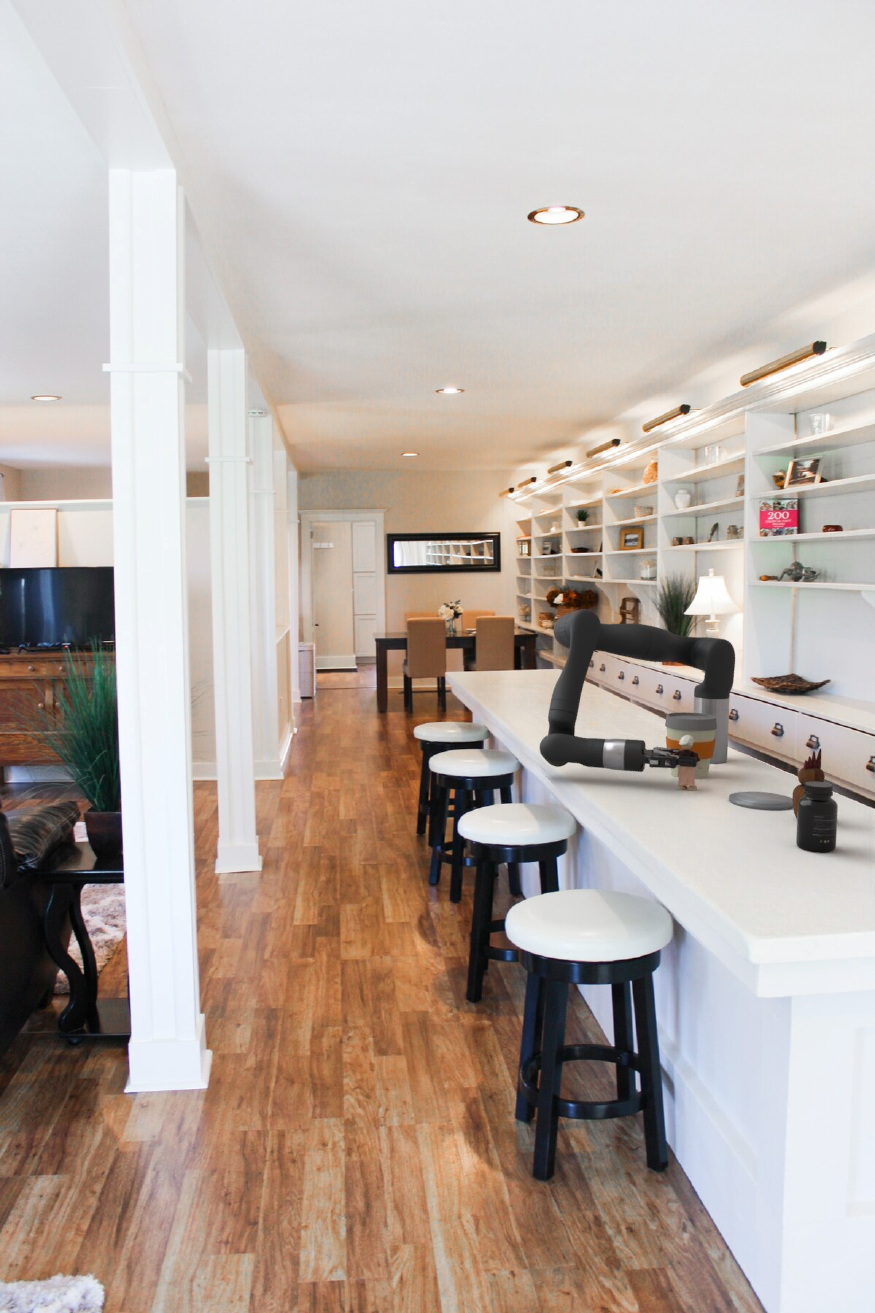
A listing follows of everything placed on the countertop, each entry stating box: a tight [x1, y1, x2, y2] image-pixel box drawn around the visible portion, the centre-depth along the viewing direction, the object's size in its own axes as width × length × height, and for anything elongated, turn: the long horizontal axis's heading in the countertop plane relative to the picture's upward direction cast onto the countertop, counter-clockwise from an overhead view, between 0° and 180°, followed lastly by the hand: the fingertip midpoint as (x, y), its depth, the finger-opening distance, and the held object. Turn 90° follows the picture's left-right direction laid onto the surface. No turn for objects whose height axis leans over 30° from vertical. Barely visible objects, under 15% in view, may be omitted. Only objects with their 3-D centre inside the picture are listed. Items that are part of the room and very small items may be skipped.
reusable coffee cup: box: [664, 711, 717, 780], centre depth 235 cm, size 13×13×15 cm
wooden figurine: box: [791, 748, 826, 819], centre depth 191 cm, size 7×6×15 cm
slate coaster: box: [728, 791, 793, 811], centre depth 208 cm, size 14×14×1 cm
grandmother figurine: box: [673, 735, 702, 791], centre depth 220 cm, size 8×4×13 cm, turn 71°
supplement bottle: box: [795, 781, 839, 854], centre depth 172 cm, size 7×7×12 cm
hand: (697, 759), depth 219 cm, fingers open, 5 cm apart
